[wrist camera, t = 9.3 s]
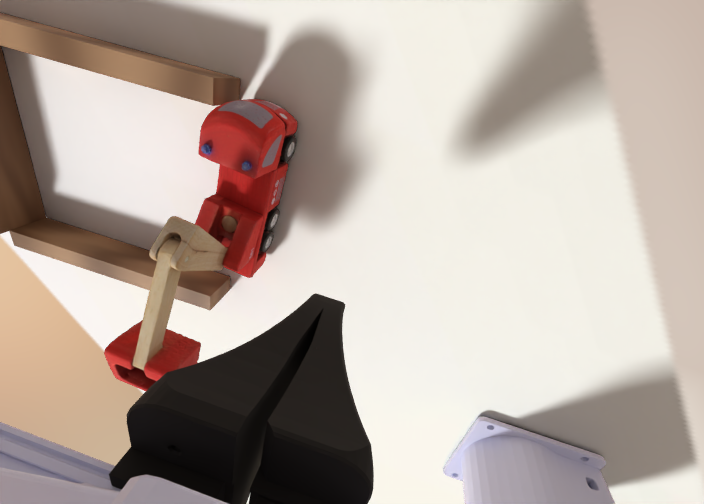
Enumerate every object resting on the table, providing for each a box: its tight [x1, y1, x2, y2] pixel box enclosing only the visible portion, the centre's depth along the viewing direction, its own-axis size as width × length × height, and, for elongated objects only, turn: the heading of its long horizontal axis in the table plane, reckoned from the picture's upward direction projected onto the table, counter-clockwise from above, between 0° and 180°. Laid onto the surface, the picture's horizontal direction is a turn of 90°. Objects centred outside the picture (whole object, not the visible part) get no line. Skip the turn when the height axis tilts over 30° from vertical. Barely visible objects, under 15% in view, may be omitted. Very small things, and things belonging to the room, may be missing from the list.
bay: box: [0, 12, 240, 310], centre depth 20 cm, size 16×14×4 cm
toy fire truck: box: [104, 99, 297, 391], centre depth 17 cm, size 3×14×10 cm, turn 161°
